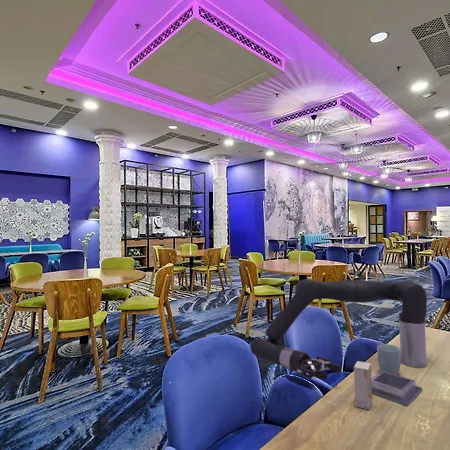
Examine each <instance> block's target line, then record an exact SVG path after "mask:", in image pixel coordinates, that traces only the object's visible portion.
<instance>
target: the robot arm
mask: <svg viewBox="0 0 450 450" xmlns="http://www.w3.org/2000/svg"><path fill="white" fill-rule="evenodd" d="M294 292H295V293H294V295H292V296H293V297H292V298H291V299H290V300H289V301H288V304H287V305H285V307H284V308H283V309H282V310H281V311H280V312H279V313H278V314H277V315H276V317H274V318H273V320H272V321H271V323H270V324H269V326H268V327H267V328H266V330H265V334H266V336H267V339H266V340H265V339H263V338H255V339H253V340H252V342H251V343H250V346H249V347H250V351H251V353H252V355H254V356H255V357H257V358H259V359H260V360H262V361H270V362H272V363H274V364H276V365H277V366H280V367H281V366H282V367H283V368H286V369H288V370H290V371H293V372H295V373H297V375H300V376H302V377H304V378H306V379H308V380H309V379H310V380H311V379H313V378H314V379H315V378H318V379H321V380H323V381H326V380H328V373H327V372H324V371H325V370H329V371H333V372H335V373H340V372H341V366H340V365H338V364H335V363H333V361H332V359H330V358H325V357H321V356H316V358H311V357H310V355H309V354H308V353H307V352H305V351H301V350H298V349H294V348H290V347H285V346H283V345H279V344H280V341H281V340H282V338H283V337H284V336H285V335H286V334H287V331H289V329H290V328H291V327H292V325H293V324H294V322H295V321H296V320H297V318H298V317H299V316H300V315H301V313H302V312H304V310H305V309H306V308H307V307H308V306H309V305H310V304H311V303H313V301H315V300H333V301H334V300H335V301H340V302H346V303H362V304H363V303H364V304H365V303H366V304H367V303H372V302H373V303H374V302H377V301H383V300H386V301H387V300H388V301H397V302H400V303H401V302H402V305H401V306H402V310H401V312H399V314H398V322H399V323H398V326H399V349H400V363H402V364H403V365H406V366H409V367H412V368H425V367H426V366H427V365H428V362H427V344H426V340H427V339H426V324H425V323H426V322H425V321H426V320H425V319H426V316H427V313H428V312H427V306H428V305H427V299H428V298H427V293H426V289H425V287H423V286H422V285H421V284H418V283H415V282H413V281H410V280H409V281H408V280H402V281H390V282H382V281H372V280H355V279H354V280H352V279H351V280H350V279H349V280H347V279H346V280H336V281H319V280H313V279H310V278H305V279H300V280H299V281H298V282H297V283H296V285H295V291H294Z"/></svg>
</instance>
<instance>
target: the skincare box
mask: <svg viewBox="0 0 450 450" xmlns="http://www.w3.org/2000/svg"><path fill="white" fill-rule="evenodd" d="M353 378H354V379H353V381H354V406H355V407H357V408H362V409H364V410H365V409H366V410H370V409H371V407H372V403H373V394H372V383H371V379H372V364H371V363H370V362H365V361H360V360H357V361H356V363H354V366H353Z"/></svg>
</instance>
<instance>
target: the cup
mask: <svg viewBox="0 0 450 450" xmlns="http://www.w3.org/2000/svg"><path fill="white" fill-rule="evenodd" d="M376 348H377V349H376V353H377V356H376V357H377V363H378V365H377V366H378V369H379V371H380V372H381V371H385V372H388V373H392V374H395V375H399V373H400V371H401V354H400V347H399V346H397V345H393V344H387V343H386V344H385V343H381V344H380V343H379V344H378V345H377V347H376Z"/></svg>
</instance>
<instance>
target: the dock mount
mask: <svg viewBox="0 0 450 450" xmlns="http://www.w3.org/2000/svg"><path fill="white" fill-rule="evenodd" d="M371 383H372V395H374V396H376V397H379V398H382V399H386V400H388V401H391V402H394V403H397V404H400V405H402V406H405V407H408V406H410V404H411V403H413V401H414V400H415V399H416V398H417V397H418V396H419V395H420V394H421V393H422V392H423V387H421V386H417V385H416V380H415V379H412V378H408V377H405V376H401V375H399V374H397V375H395V374H392V373H388V372H385V371H380V372H378V373H377V374H375V376H373V377H371Z"/></svg>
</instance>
